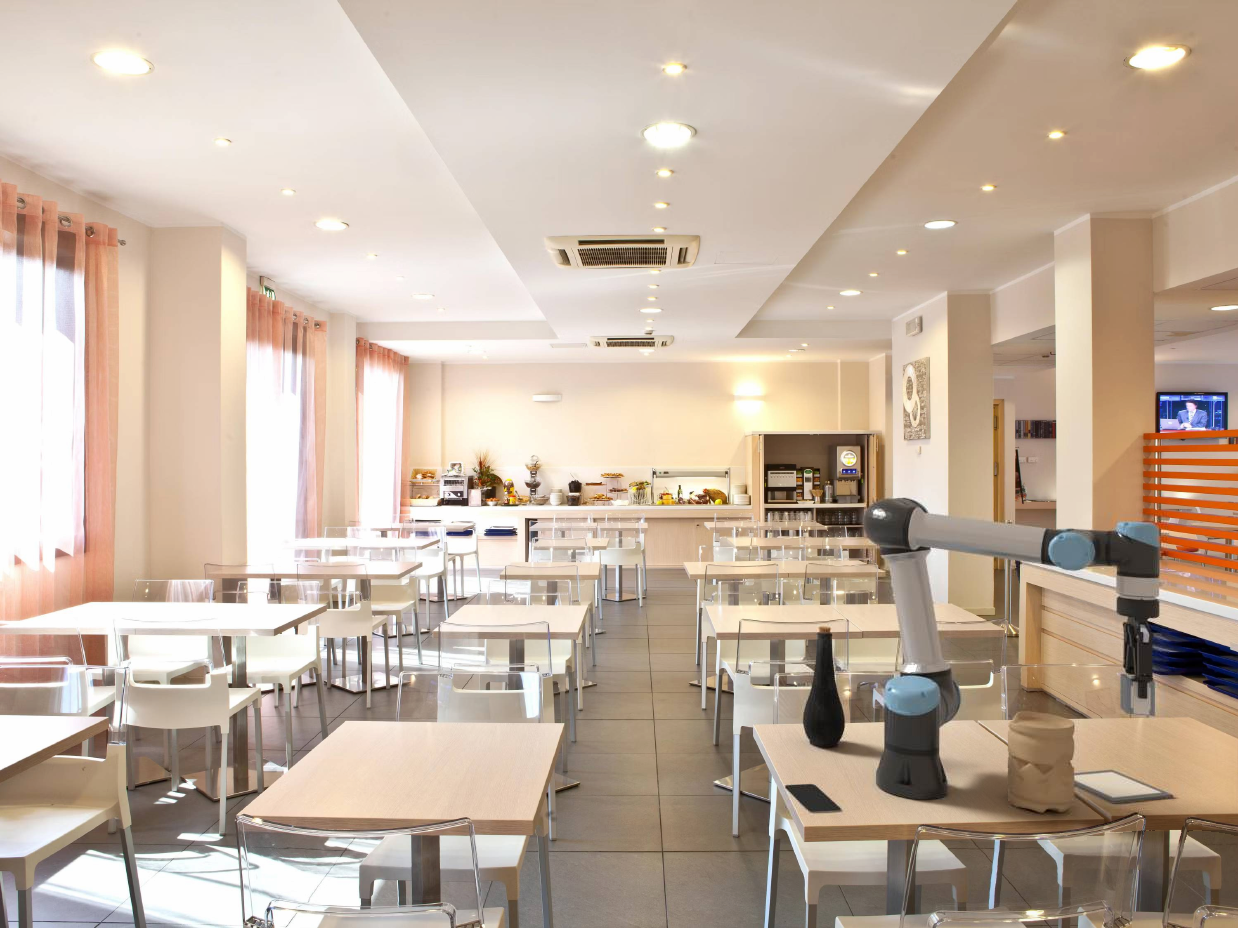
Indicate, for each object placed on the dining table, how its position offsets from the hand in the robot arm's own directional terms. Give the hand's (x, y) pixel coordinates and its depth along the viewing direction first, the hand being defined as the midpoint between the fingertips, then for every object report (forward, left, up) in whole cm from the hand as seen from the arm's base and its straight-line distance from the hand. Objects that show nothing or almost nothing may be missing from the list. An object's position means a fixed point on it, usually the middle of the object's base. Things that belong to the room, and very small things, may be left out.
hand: (1137, 709), depth 169 cm
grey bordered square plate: (+9, +14, -22) cm, 27 cm away
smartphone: (-61, +23, -22) cm, 69 cm away
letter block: (0, 0, 0) cm, 0 cm away
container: (-15, +9, -22) cm, 28 cm away
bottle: (-40, +56, -22) cm, 73 cm away
